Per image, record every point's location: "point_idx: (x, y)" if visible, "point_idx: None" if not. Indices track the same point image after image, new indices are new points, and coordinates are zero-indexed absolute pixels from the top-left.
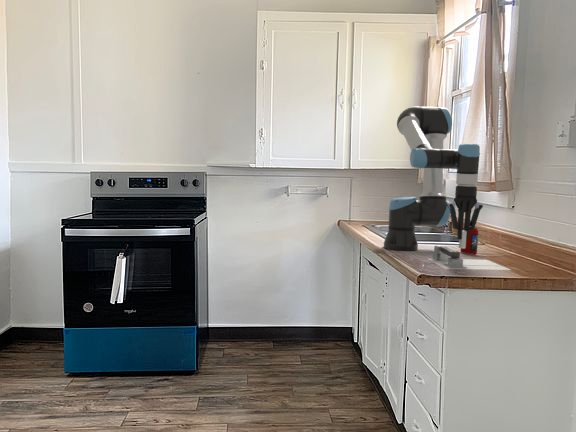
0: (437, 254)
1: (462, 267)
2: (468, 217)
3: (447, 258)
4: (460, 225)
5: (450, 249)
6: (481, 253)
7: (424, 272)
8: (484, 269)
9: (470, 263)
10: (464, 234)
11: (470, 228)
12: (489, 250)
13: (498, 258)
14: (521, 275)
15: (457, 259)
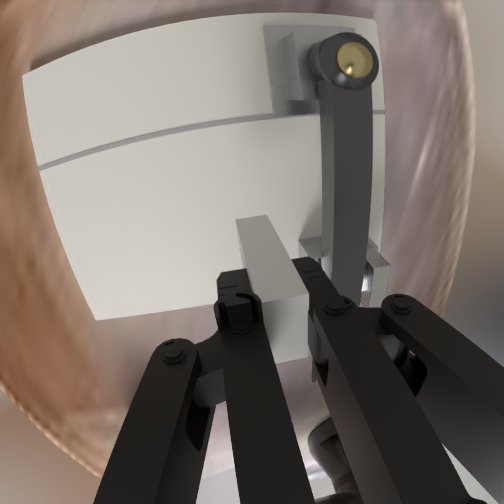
0: (368, 244)
1: (287, 25)
2: (285, 491)
3: (307, 244)
4: (371, 338)
5: (342, 205)
6: None
7: (444, 16)
8: (158, 26)
9: (191, 192)
10: (275, 275)
11: (204, 357)
12: (104, 457)
13: (65, 383)
14: (11, 34)
15: (330, 32)
